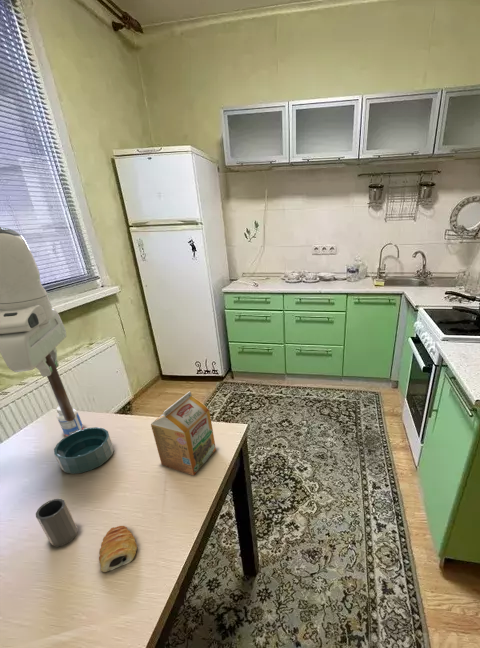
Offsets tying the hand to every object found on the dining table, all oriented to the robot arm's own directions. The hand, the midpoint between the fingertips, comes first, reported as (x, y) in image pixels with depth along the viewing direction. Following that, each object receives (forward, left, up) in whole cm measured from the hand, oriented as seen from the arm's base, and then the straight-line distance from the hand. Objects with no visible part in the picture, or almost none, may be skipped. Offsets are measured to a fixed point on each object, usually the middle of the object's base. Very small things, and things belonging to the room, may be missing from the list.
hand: (51, 371), depth 73 cm
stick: (0, 0, -14) cm, 14 cm away
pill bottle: (-11, +22, -31) cm, 40 cm away
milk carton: (+25, -1, -31) cm, 40 cm away
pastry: (+11, -26, -31) cm, 42 cm away
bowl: (-3, +7, -31) cm, 32 cm away
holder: (-1, -19, -31) cm, 36 cm away
